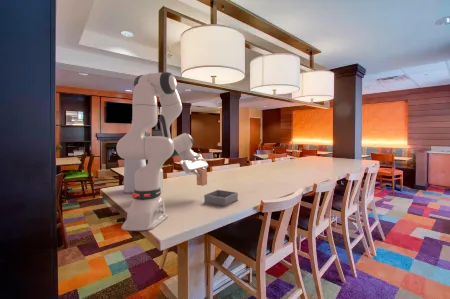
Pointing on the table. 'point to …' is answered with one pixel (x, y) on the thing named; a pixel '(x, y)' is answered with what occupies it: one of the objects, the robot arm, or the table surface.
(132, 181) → the plastic bottle
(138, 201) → the robot arm
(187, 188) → the table surface
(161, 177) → the milk carton
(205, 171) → the square container
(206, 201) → the tray
